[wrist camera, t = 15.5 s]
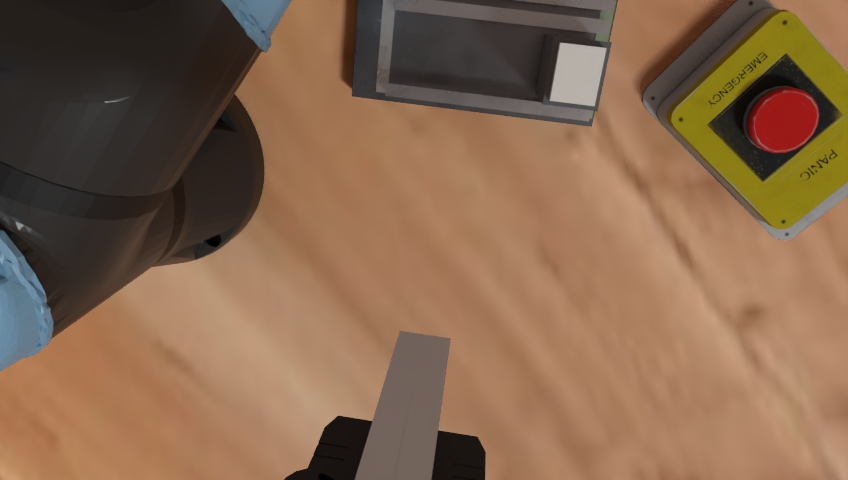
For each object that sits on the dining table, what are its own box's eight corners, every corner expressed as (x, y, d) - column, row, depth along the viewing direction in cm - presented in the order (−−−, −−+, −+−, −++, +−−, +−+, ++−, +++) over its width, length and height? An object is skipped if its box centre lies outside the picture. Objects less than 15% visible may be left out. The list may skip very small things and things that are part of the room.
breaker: (535, 92, 38) (543, 105, 32) (545, 34, 37) (555, 35, 31) (581, 98, 38) (599, 112, 32) (593, 39, 37) (613, 42, 31)
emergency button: (781, -21, 33) (946, 162, 35) (749, -16, 37) (898, 148, 39) (649, 105, 36) (809, 266, 38) (633, 97, 40) (778, 243, 42)
